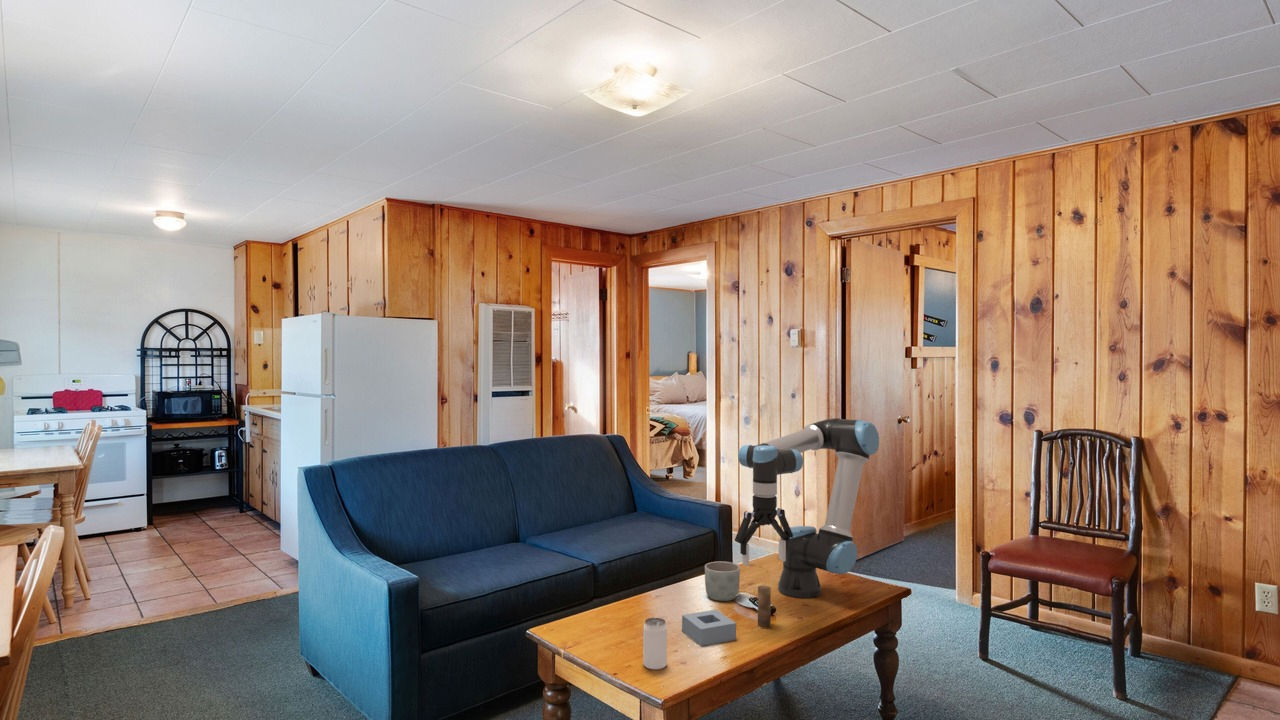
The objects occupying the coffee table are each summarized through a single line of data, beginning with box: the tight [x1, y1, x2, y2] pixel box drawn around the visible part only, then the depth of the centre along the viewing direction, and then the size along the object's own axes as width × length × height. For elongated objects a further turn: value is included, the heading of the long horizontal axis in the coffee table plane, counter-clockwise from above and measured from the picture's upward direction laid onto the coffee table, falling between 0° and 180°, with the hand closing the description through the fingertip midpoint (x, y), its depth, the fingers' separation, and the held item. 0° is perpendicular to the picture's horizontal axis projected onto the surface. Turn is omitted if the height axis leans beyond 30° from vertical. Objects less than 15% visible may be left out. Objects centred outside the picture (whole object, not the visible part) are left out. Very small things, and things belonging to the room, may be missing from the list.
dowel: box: [757, 585, 772, 629], centre depth 216 cm, size 4×4×12 cm
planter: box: [704, 560, 741, 602], centre depth 242 cm, size 12×12×11 cm
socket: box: [681, 609, 737, 647], centre depth 208 cm, size 12×12×5 cm
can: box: [642, 617, 668, 671], centre depth 188 cm, size 6×6×12 cm
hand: (764, 562), depth 216 cm, fingers open, 13 cm apart
